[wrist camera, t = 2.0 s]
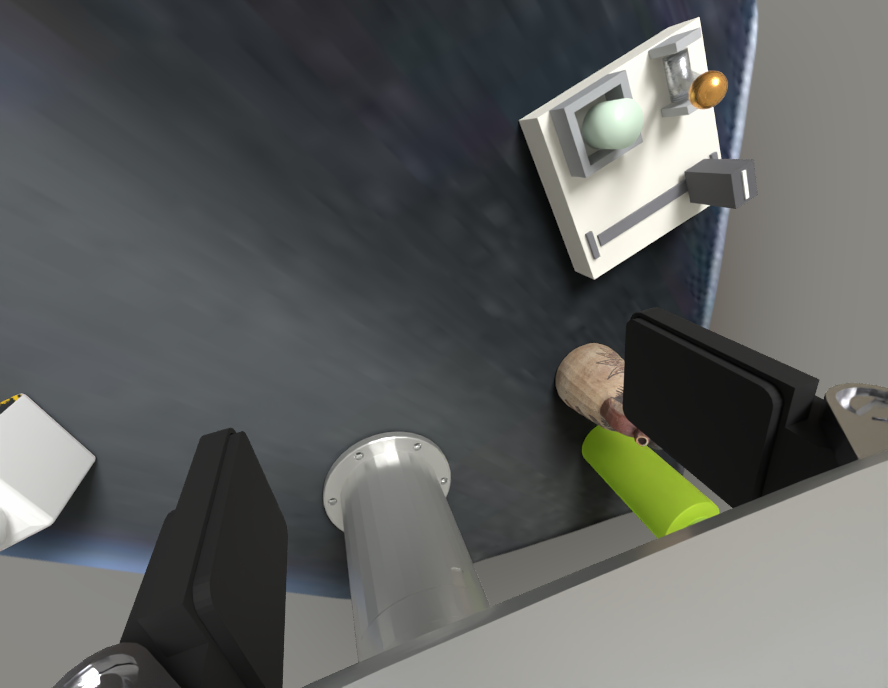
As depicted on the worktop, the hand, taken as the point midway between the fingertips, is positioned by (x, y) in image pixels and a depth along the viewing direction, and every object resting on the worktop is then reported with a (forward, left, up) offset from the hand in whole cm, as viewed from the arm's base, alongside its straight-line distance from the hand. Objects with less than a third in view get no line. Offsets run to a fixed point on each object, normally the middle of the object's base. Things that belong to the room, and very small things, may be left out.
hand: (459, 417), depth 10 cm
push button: (-2, -19, -22) cm, 29 cm away
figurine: (-24, -13, -26) cm, 38 cm away
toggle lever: (-2, -26, -22) cm, 34 cm away
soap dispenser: (-34, -12, -26) cm, 45 cm away
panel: (-6, -23, -26) cm, 35 cm away
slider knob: (-10, -27, -22) cm, 36 cm away
